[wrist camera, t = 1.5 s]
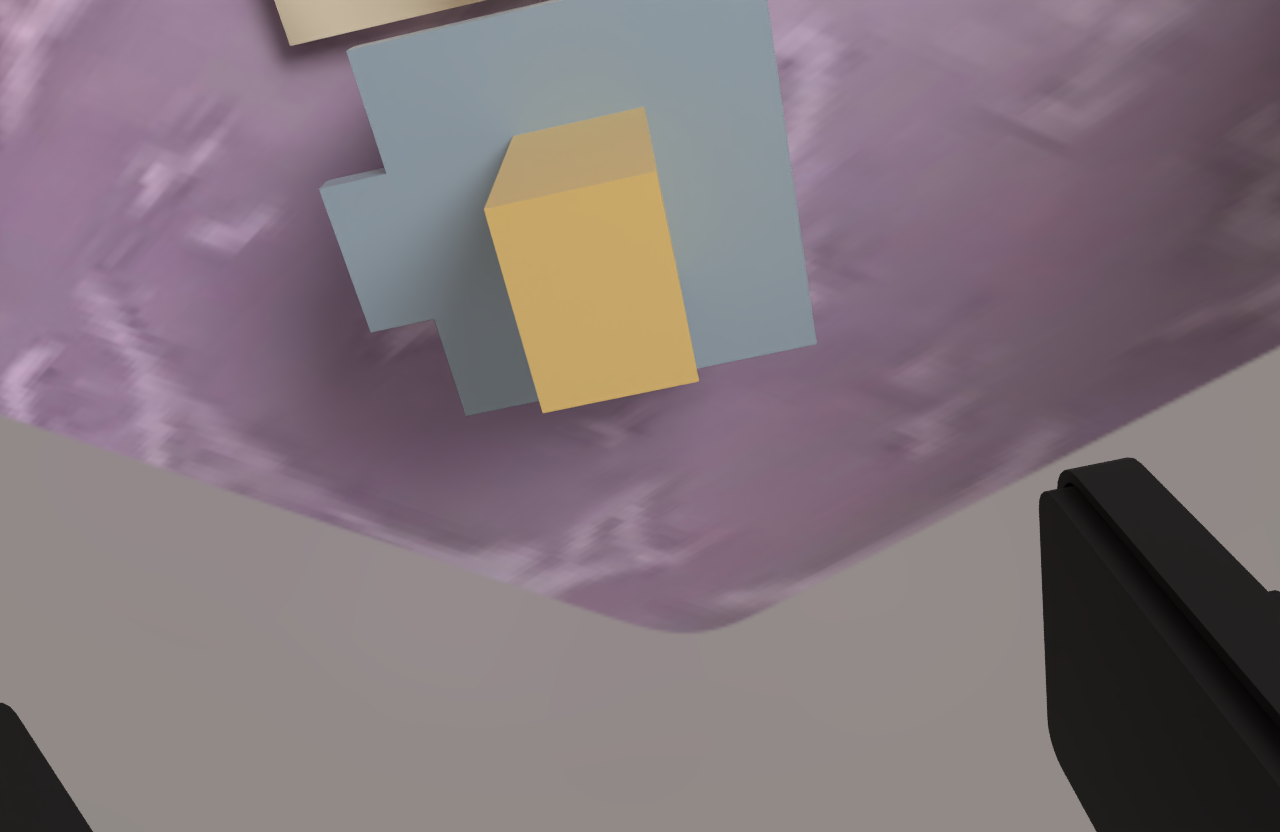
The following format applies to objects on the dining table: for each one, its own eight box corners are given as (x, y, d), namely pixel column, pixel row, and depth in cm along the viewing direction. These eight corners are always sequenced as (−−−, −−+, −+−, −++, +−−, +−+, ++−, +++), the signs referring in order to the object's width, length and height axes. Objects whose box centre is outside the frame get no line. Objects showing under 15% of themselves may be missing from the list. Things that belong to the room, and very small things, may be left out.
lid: (755, -48, 22) (812, -27, 16) (811, 331, 26) (873, 463, 20) (285, 61, 23) (167, 121, 17) (410, 414, 27) (352, 566, 21)
